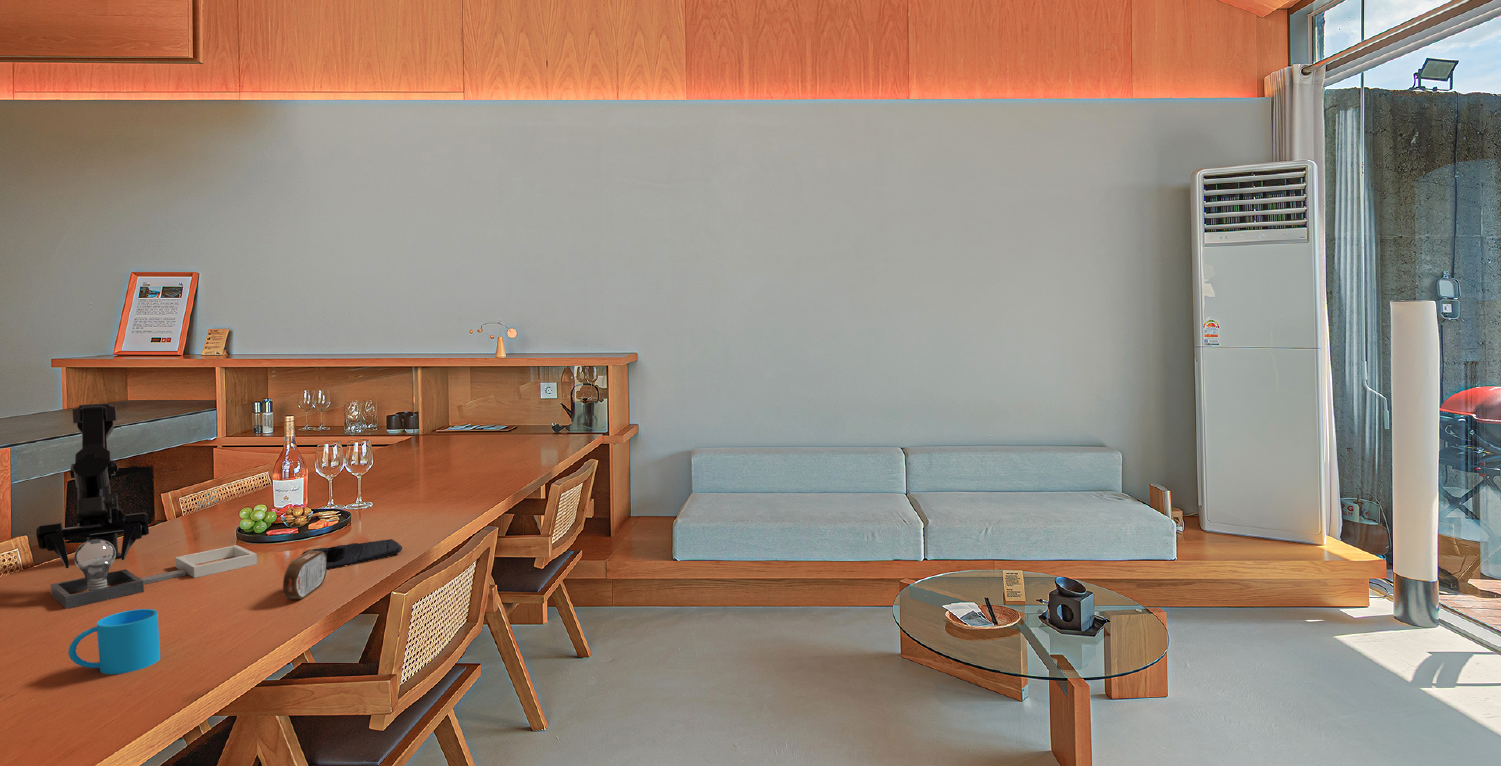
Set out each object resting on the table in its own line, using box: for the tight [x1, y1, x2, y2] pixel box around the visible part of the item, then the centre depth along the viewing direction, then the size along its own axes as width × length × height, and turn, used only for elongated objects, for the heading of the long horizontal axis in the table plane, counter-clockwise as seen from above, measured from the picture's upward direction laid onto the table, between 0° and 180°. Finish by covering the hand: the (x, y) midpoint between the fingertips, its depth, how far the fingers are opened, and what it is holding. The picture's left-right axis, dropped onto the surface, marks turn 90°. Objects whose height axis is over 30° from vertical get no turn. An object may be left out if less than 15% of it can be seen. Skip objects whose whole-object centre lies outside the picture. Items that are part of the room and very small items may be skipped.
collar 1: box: [50, 568, 145, 610], centre depth 169 cm, size 13×13×2 cm
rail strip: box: [139, 569, 187, 585], centre depth 179 cm, size 3×9×1 cm, turn 142°
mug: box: [68, 608, 161, 675], centre depth 133 cm, size 12×8×8 cm
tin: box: [282, 549, 328, 600], centre depth 169 cm, size 15×3×8 cm, turn 5°
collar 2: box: [174, 544, 258, 579], centre depth 189 cm, size 13×13×2 cm
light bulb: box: [73, 539, 116, 591], centre depth 169 cm, size 7×7×12 cm
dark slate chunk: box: [301, 538, 403, 570], centre depth 195 cm, size 15×22×5 cm
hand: (95, 562), depth 168 cm, fingers open, 9 cm apart
